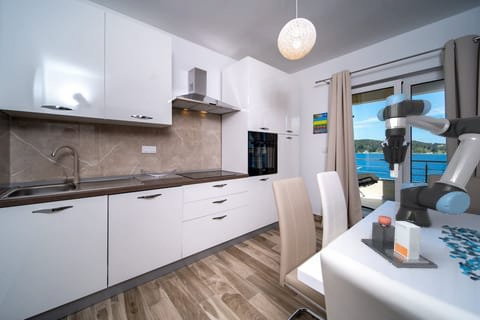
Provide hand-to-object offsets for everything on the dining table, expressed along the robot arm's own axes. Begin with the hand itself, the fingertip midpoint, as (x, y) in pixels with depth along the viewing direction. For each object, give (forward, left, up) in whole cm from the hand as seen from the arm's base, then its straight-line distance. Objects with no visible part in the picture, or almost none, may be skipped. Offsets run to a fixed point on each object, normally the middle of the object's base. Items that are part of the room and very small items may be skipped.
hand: (394, 177), depth 89 cm
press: (+13, +17, -29) cm, 35 cm away
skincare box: (+13, +22, -27) cm, 37 cm away
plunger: (+13, +11, -26) cm, 31 cm away
